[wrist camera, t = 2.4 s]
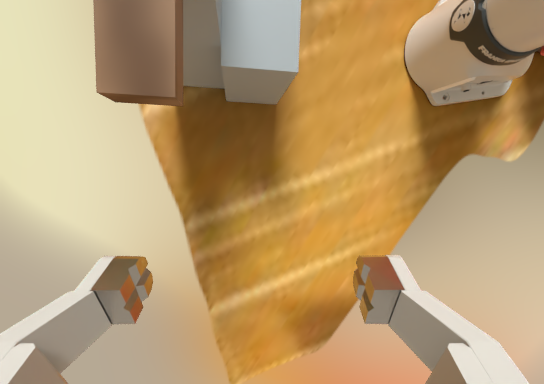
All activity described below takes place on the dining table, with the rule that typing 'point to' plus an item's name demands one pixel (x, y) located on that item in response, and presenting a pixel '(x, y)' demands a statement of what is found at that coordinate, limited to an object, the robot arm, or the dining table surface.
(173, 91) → the brown bar
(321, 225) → the dining table surface
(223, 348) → the dining table surface
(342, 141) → the dining table surface
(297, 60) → the step box
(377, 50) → the dining table surface
